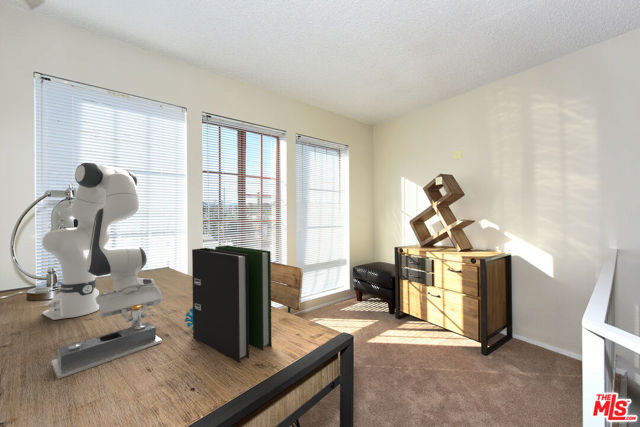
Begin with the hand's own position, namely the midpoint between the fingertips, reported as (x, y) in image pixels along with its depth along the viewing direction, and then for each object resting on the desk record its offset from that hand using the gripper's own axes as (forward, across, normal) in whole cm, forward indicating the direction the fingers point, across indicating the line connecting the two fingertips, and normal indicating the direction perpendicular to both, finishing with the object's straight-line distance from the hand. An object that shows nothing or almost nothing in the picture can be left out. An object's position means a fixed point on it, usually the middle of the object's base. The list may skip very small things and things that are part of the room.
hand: (136, 318), depth 100 cm
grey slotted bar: (+10, -10, -3) cm, 15 cm away
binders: (+28, +18, -20) cm, 39 cm away
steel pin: (+3, 0, +4) cm, 5 cm away
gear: (+14, +17, -6) cm, 23 cm away
